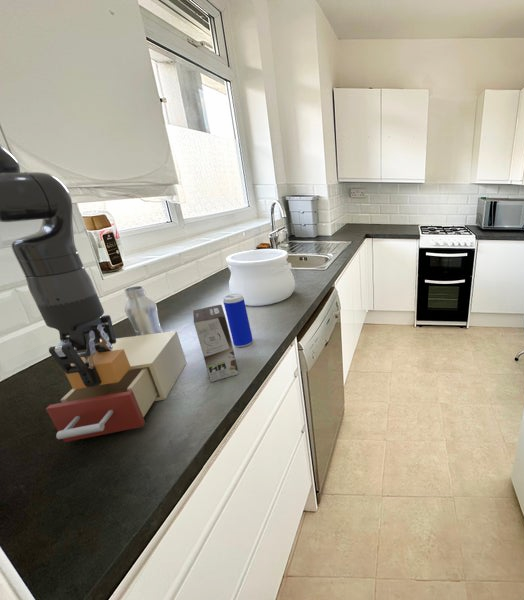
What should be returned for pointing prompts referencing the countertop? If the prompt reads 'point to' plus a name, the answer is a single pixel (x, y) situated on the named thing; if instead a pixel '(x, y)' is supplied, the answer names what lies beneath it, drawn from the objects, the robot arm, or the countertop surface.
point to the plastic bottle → (142, 312)
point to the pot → (261, 276)
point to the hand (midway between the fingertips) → (102, 376)
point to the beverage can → (238, 320)
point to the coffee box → (215, 342)
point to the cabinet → (155, 357)
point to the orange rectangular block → (104, 368)
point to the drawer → (105, 407)
